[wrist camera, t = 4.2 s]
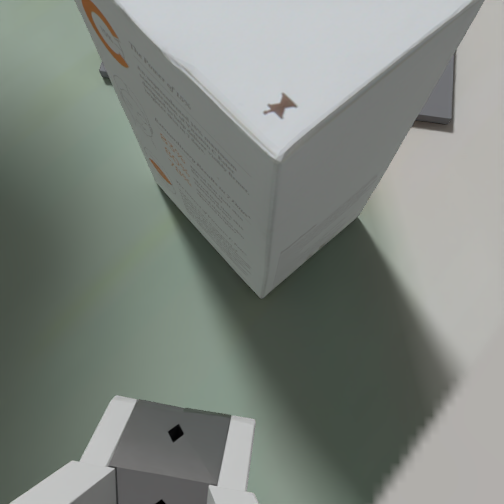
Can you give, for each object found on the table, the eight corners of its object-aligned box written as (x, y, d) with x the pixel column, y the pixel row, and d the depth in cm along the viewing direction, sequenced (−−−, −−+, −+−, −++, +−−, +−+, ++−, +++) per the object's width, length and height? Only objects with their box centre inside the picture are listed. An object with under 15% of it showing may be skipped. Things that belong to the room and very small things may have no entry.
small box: (360, 216, 22) (505, -14, 9) (261, 303, 21) (276, 170, 8) (249, 105, 24) (247, -212, 11) (151, 179, 22) (26, -85, 10)
